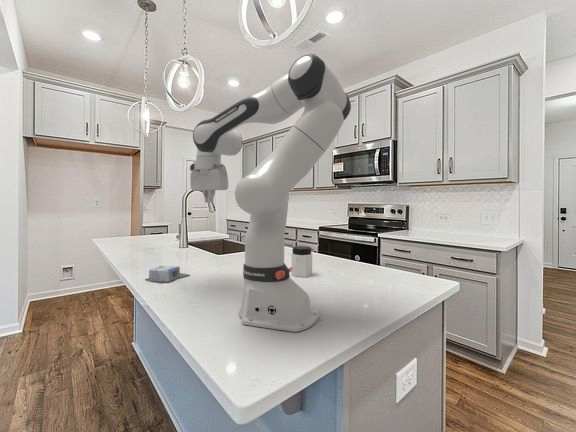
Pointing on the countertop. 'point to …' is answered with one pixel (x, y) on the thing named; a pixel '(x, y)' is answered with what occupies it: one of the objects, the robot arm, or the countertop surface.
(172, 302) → the countertop surface
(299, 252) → the jar
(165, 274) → the medicine box
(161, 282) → the mat
